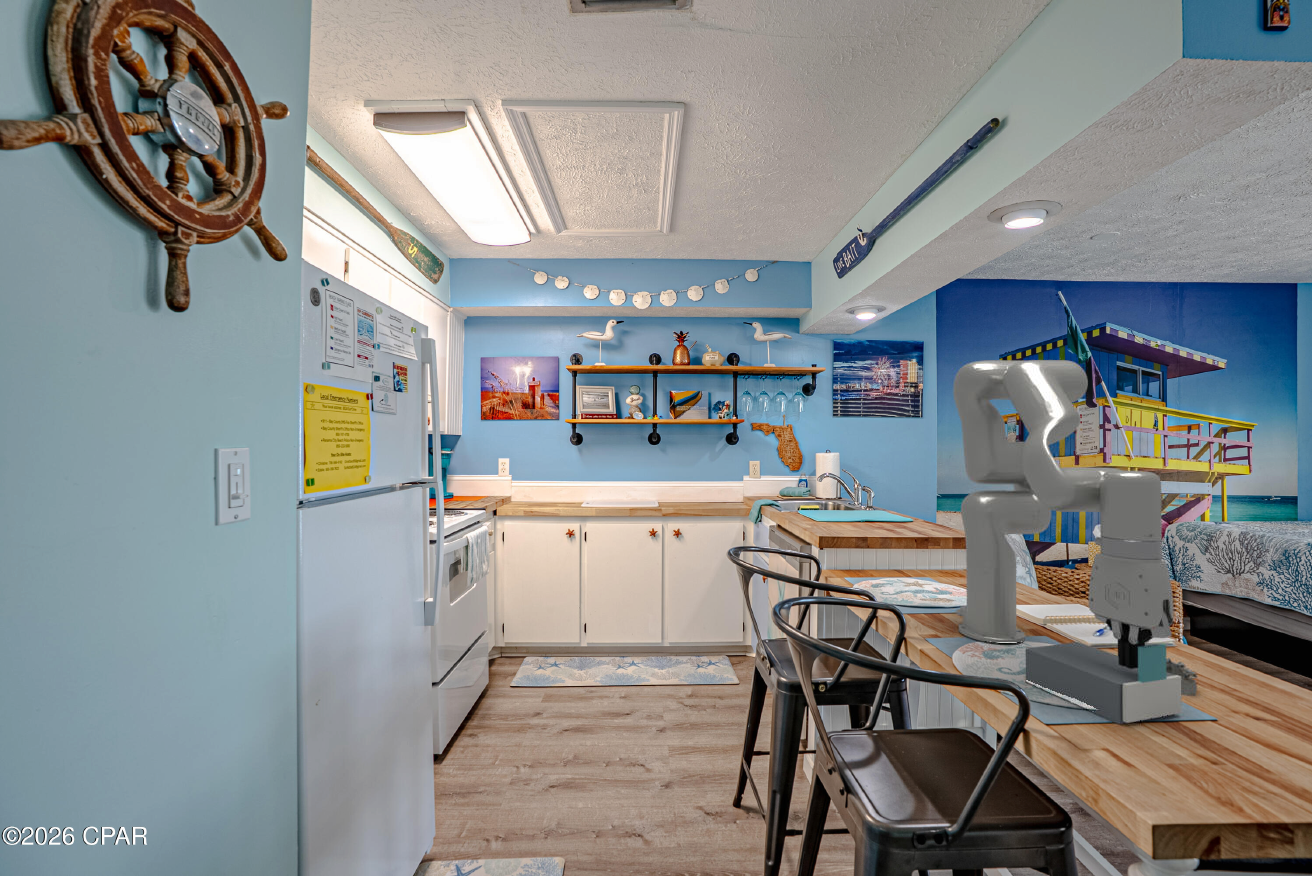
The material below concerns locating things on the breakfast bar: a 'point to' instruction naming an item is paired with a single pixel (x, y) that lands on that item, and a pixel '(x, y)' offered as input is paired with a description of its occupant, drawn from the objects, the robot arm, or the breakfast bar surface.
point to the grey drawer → (1151, 688)
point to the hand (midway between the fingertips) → (1131, 665)
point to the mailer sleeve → (1082, 675)
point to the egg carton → (1183, 676)
